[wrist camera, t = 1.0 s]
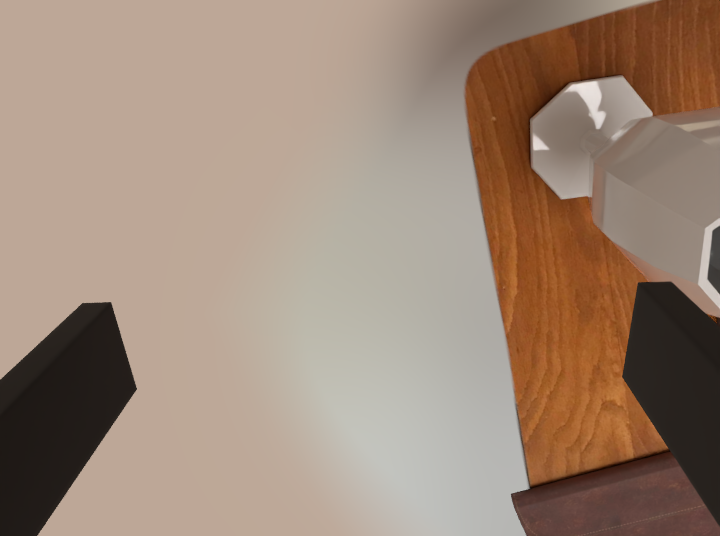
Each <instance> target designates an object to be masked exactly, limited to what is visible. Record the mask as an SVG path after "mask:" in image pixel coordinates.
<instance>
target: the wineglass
mask: <svg viewBox="0 0 720 536" xmlns="http://www.w3.org/2000/svg"><path fill="white" fill-rule="evenodd" d="M530 144H531V168H532V169H533V170H534V171H535V172H536V173H537V174H538V175H539V177H540V178H541V179H542V180H543V181H544V182H545V183H546V184H547V185H548V186H549V187H550V188H551V189H552V191H553V192H554V193H555V194H556V195H557V196H558V197H559V198H560V199H568V198H576V197H583V196H588V202H589V206H590V210H591V214H592V218H593V222H594V224H595V225H596V226H597V227H598V228H599V229H600V230H601V232H602V233H603V234H604V235H605V236H606V237H607V238H608V239H609V240H610V241H611V242H612V244H613V245H614V246H615V247H616V248H617V249H618V250H619V251H620V252H621V253H622V254H623V256H624V257H625V258H626V259H627V260H628V261H629V262H630V263H631V264H632V265H633V266H634V267H635V268H636V269H637V270H638V271H639V272H640V273H641V274H642V275H643V276H644V277H645V278H646V279H647V280H648V281H649V282H667V281H671V282H672V283H674V284H675V285H676V286H677V287H678V288H679V289H680V290H681V291H682V292H683V293H684V294H685V295H686V296H687V297H689V298H690V299H691V300H692V301H693V302H694V303H695V304H696V305H697V306H698V307H699V308H700V309H701V310H702V311H703V312H705V313H707V314H710V315H713V316H716V317H719V318H720V107H714V108H707V109H700V110H693V111H686V112H679V113H672V114H665V115H658V116H652V111H651V110H650V109H649V108H648V106H647V105H646V104H645V103H644V101H643V100H642V99H641V98H640V96H639V95H638V94H637V93H636V91H635V90H634V89H633V88H632V87H631V85H630V84H629V83H628V82H627V80H626V79H625V78H624V77H623V75H619V76H612V77H605V78H599V79H592V80H585V81H579V82H572V83H569V84H568V85H567V86H566V87H565V88H564V89H562V90H561V91H560V92H559V93H558V94H557V95H556V96H555V97H554V98H553V99H552V100H550V101H549V102H548V103H547V104H546V105H545V106H544V107H543V108H542V109H541V110H540V111H538V112H537V113H536V114H535V115H534V116H533V117H532V118H531V119H530Z"/></svg>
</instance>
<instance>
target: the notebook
mask: <svg viewBox="0 0 720 536" xmlns="http://www.w3.org/2000/svg"><path fill="white" fill-rule="evenodd" d="M511 497H512V501H513V505H514V508H515V511H516V513H517V515H518V518H519V520H520V522H521V525H522V526H523V528H524V530H525V533H526V535H527V536H720V527H719V525H718V524H717V522H716V521H715V519H714V517H713V516H712V514H711V513H710V511H709V510H708V508H707V507H706V505H705V504H704V502H703V501H702V499H701V497H700V496H699V494H698V493H697V491H696V490H695V488H694V487H693V485H692V484H691V482H690V481H689V479H688V477H687V476H686V474H685V473H684V471H683V470H682V468H681V467H680V465H679V464H678V462H677V460H676V459H675V457H674V456H673V454H672V453H671V452H667V453H663V454H659V455H656V456H652V457H648V458H644V459H640V460H637V461H633V462H629V463H625V464H622V465H618V466H614V467H610V468H607V469H603V470H599V471H595V472H592V473H588V474H584V475H580V476H577V477H573V478H569V479H565V480H562V481H558V482H554V483H550V484H546V485H543V486H539V487H535V488H531V489H528V490H524V491H520V492H517V493H513V494H511Z"/></svg>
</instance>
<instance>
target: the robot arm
mask: <svg viewBox="0 0 720 536" xmlns="http://www.w3.org/2000/svg"><path fill="white" fill-rule="evenodd" d="M622 377H623V379H624V380H625V382H626V383H627V385H628V387H629V388H630V390H631V391H632V393H633V394H634V396H635V397H636V399H637V400H638V402H639V403H640V405H641V407H642V408H643V410H644V411H645V413H646V414H647V416H648V417H649V419H650V420H651V422H652V424H653V425H654V427H655V428H656V430H657V431H658V433H659V434H660V436H661V437H662V439H663V440H664V442H665V444H666V445H667V447H668V448H669V450H670V451H671V453H672V454H673V456H674V457H675V459H676V460H677V462H678V464H679V465H680V467H681V468H682V470H683V471H684V473H685V474H686V476H687V477H688V479H689V481H690V482H691V484H692V485H693V487H694V488H695V490H696V491H697V493H698V494H699V496H700V497H701V499H702V501H703V502H704V504H705V505H706V507H707V508H708V510H709V511H710V513H711V514H712V516H713V517H714V519H715V521H716V522H717V524H718V525H719V527H720V326H718V325H717V324H716V323H715V322H714V321H713V320H712V319H711V318H710V317H709V316H708V315H707V314H706V313H705V312H703V311H702V310H701V309H700V308H699V307H698V306H697V305H696V304H695V303H694V302H693V301H692V300H691V299H690V298H689V297H687V296H686V295H685V294H684V293H683V292H682V291H681V290H680V289H679V288H678V287H677V286H676V285H675V284H674V283H672V282H671V281H667V282H641V283H638V286H637V292H636V298H635V304H634V310H633V316H632V322H631V328H630V334H629V340H628V346H627V352H626V358H625V364H624V370H623V376H622ZM136 390H137V388H136V385H135V381H134V378H133V375H132V372H131V368H130V365H129V361H128V358H127V354H126V351H125V348H124V344H123V341H122V338H121V334H120V331H119V327H118V324H117V321H116V317H115V314H114V311H113V308H112V304H111V302H104V303H82V304H81V305H80V306H79V307H78V308H77V309H76V310H75V311H74V312H73V313H72V314H70V315H69V316H68V317H67V318H66V319H65V320H64V321H63V322H62V323H61V324H60V325H59V326H58V327H57V328H55V329H54V330H53V331H52V332H51V333H50V334H49V335H48V336H47V337H46V338H45V339H44V340H43V341H41V342H40V343H39V344H38V345H37V346H36V347H35V348H34V349H33V350H32V351H31V352H30V353H29V354H28V355H26V356H25V357H24V358H23V359H22V360H21V361H20V362H19V363H18V364H17V365H16V366H15V367H14V368H12V369H11V370H10V371H9V372H8V373H7V374H6V375H5V376H4V377H3V378H2V379H1V380H0V536H37V535H38V534H39V532H40V531H41V530H42V528H43V526H44V525H45V524H46V522H47V521H48V519H49V518H50V516H51V515H52V513H53V512H54V510H55V509H56V507H57V506H58V504H59V503H60V501H61V500H62V499H63V497H64V495H65V494H66V493H67V491H68V490H69V488H70V487H71V485H72V484H73V482H74V481H75V479H76V478H77V476H78V475H79V474H80V472H81V471H82V469H83V468H84V466H85V464H86V463H87V462H88V460H89V459H90V457H91V456H92V454H93V453H94V451H95V450H96V448H97V447H98V445H99V444H100V442H101V441H102V440H103V438H104V437H105V435H106V434H107V432H108V431H109V429H110V428H111V426H112V425H113V423H114V422H115V420H116V419H117V418H118V416H119V415H120V413H121V412H122V410H123V409H124V407H125V406H126V404H127V403H128V401H129V400H130V398H131V397H132V395H133V394H134V392H135V391H136Z"/></svg>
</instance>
